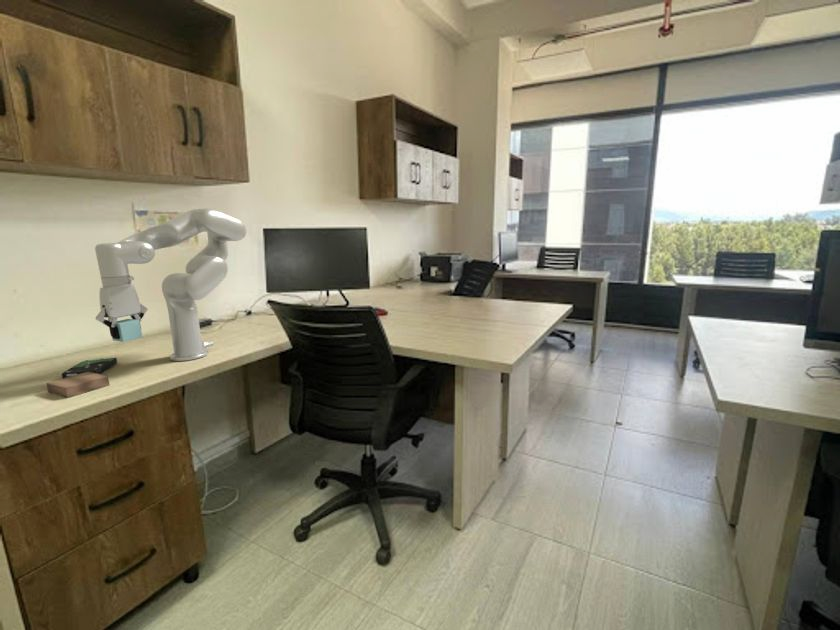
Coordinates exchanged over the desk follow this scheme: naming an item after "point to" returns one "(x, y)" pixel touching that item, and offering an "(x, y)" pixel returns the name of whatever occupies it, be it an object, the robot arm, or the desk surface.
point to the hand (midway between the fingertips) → (127, 335)
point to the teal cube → (128, 330)
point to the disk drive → (90, 367)
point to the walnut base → (77, 384)
